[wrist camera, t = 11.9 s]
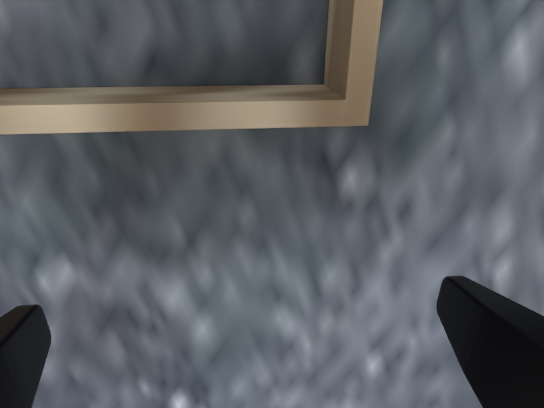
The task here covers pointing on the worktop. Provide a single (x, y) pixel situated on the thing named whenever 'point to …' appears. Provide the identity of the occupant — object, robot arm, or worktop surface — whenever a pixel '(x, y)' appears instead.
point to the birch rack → (218, 94)
